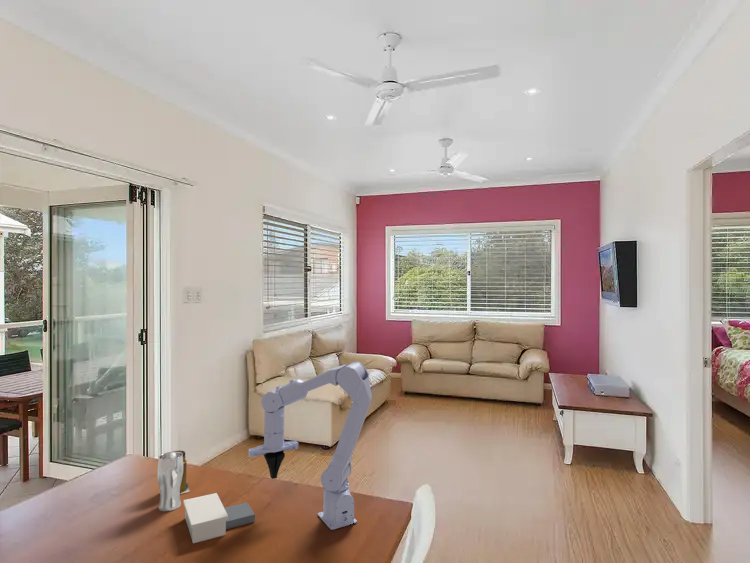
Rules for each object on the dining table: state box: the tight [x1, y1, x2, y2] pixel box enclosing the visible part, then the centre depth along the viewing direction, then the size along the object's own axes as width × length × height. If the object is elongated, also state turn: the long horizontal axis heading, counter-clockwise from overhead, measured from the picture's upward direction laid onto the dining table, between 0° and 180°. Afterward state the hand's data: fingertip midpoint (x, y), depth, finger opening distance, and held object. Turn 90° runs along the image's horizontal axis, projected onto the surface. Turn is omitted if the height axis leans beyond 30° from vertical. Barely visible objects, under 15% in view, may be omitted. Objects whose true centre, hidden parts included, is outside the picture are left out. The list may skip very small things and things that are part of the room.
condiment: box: [172, 450, 190, 495], centre depth 142 cm, size 7×8×12 cm
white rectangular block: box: [182, 492, 228, 544], centre depth 120 cm, size 15×9×5 cm, turn 31°
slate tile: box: [224, 502, 256, 530], centre depth 123 cm, size 8×14×2 cm, turn 121°
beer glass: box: [156, 451, 183, 512], centre depth 131 cm, size 7×7×15 cm
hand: (273, 477), depth 130 cm, fingers closed
